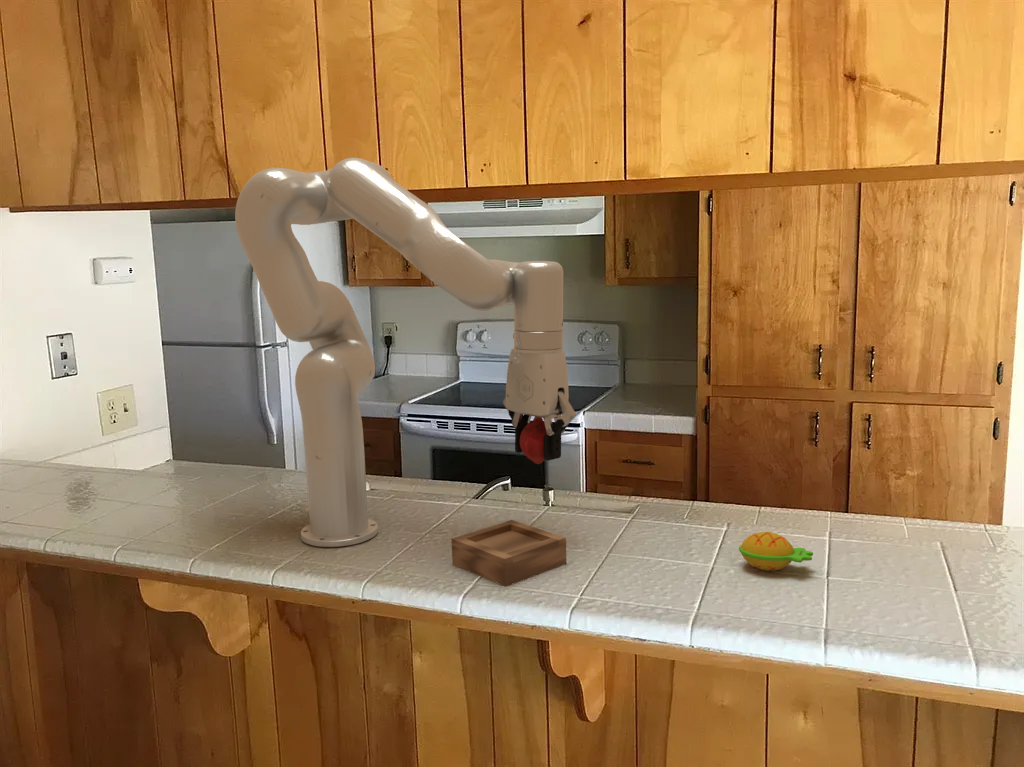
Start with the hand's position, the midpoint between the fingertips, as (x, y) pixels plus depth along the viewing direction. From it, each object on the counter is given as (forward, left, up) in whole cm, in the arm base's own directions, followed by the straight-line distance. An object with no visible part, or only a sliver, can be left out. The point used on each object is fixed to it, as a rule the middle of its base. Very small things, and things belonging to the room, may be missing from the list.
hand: (537, 453), depth 133 cm
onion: (0, 0, -2) cm, 2 cm away
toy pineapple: (+33, +14, -14) cm, 39 cm away
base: (+4, -11, -14) cm, 18 cm away
